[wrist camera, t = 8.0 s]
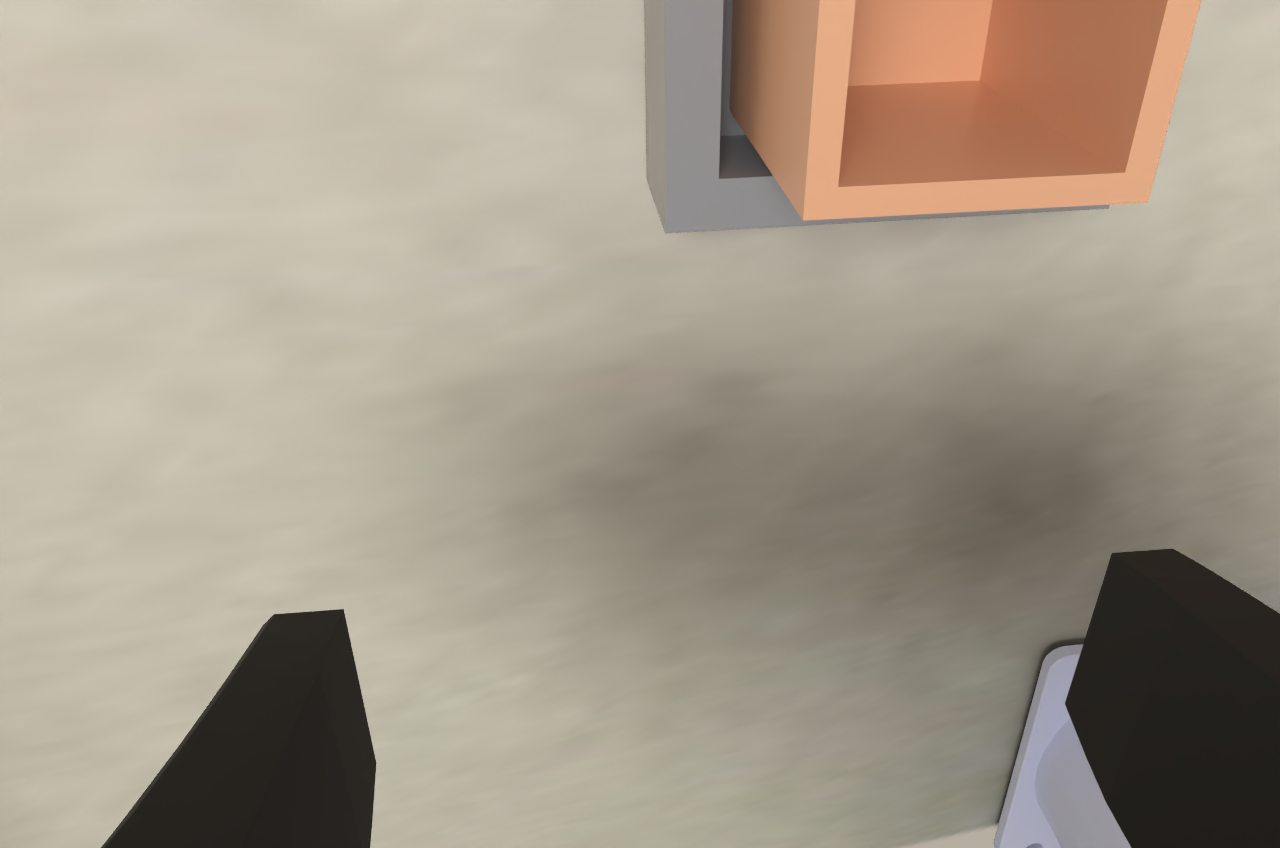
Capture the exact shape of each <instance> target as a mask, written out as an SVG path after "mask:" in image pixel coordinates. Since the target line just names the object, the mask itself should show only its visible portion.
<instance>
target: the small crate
mask: <svg viewBox="0 0 1280 848" xmlns="http://www.w3.org/2000/svg"><path fill="white" fill-rule="evenodd" d="M1200 4H1201V0H733V3H732V33H731V63H730V93H729V110H730V112H731V113H732V115H733V116H734V118H735V119H736V121H737V122H738V124H739V125H740V127H741V128H742V130H743V131H744V133H745V134H746V136H747V137H748V139H749V140H750V142H751V143H752V145H753V146H754V148H755V149H756V151H757V152H758V154H759V155H760V157H761V158H762V160H763V161H764V163H765V164H766V166H767V167H768V169H769V170H770V172H771V173H772V175H773V176H774V178H775V179H776V181H777V182H778V184H779V185H780V187H781V188H782V190H783V191H784V193H785V194H786V196H787V197H788V199H789V200H790V202H791V203H792V205H793V206H794V208H795V209H796V211H797V212H798V214H799V215H800V217H801V218H802V220H803V221H805V220H824V219H843V218H862V217H881V216H900V215H919V214H938V213H957V212H976V211H995V210H1014V209H1033V208H1052V207H1071V206H1090V205H1109V204H1128V203H1147V202H1148V200H1149V196H1150V193H1151V189H1152V185H1153V181H1154V177H1155V174H1156V170H1157V166H1158V162H1159V159H1160V155H1161V151H1162V147H1163V143H1164V140H1165V136H1166V132H1167V128H1168V125H1169V121H1170V117H1171V113H1172V109H1173V106H1174V102H1175V98H1176V94H1177V91H1178V87H1179V83H1180V79H1181V75H1182V72H1183V68H1184V64H1185V60H1186V57H1187V53H1188V49H1189V45H1190V42H1191V38H1192V34H1193V30H1194V26H1195V23H1196V19H1197V15H1198V11H1199V8H1200Z"/></svg>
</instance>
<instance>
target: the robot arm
mask: <svg viewBox="0 0 1280 848" xmlns="http://www.w3.org/2000/svg"><path fill="white" fill-rule="evenodd" d="M375 773H376V760H375V755H374V751H373V746H372V741H371V736H370V732H369V727H368V722H367V718H366V713H365V708H364V703H363V699H362V694H361V689H360V685H359V680H358V675H357V671H356V666H355V661H354V656H353V652H352V647H351V642H350V638H349V633H348V628H347V624H346V619H345V614H344V609H341V610H328V611H314V612H300V613H287V614H274V615H273V616H272V617H271V618H270V619H269V620H268V621H267V622H266V623H265V624H264V625H263V626H262V628H261V629H260V631H259V632H258V634H257V635H256V637H255V638H254V640H253V641H252V643H251V644H250V646H249V647H248V648H247V650H246V651H245V653H244V654H243V656H242V657H241V659H240V660H239V662H238V663H237V665H236V666H235V667H234V669H233V670H232V672H231V673H230V675H229V676H228V678H227V679H226V681H225V682H224V683H223V685H222V686H221V688H220V689H219V691H218V692H217V693H216V695H215V696H214V698H213V699H212V701H211V702H210V703H209V705H208V706H207V708H206V709H205V710H204V712H203V713H202V715H201V716H200V717H199V719H198V720H197V722H196V723H195V724H194V726H193V727H192V729H191V730H190V731H189V733H188V734H187V736H186V737H185V738H184V740H183V741H182V743H181V744H180V745H179V747H178V748H177V749H176V751H175V752H174V753H173V755H172V756H171V757H170V759H169V760H168V761H167V763H166V764H165V765H164V766H163V768H162V769H161V770H160V772H159V773H158V774H157V776H156V777H155V778H154V780H153V781H152V782H151V784H150V785H149V786H148V788H147V789H146V790H145V792H144V793H143V794H142V796H141V797H140V798H139V800H138V801H137V802H136V804H135V805H134V806H133V808H132V809H131V810H130V811H129V813H128V814H127V815H126V817H125V818H124V819H123V821H122V822H121V823H120V825H119V826H118V827H117V828H116V830H115V831H114V832H113V833H112V835H111V836H110V837H109V838H108V840H107V841H106V842H105V844H104V845H103V846H102V847H101V848H370V841H371V829H372V816H373V801H374V787H375ZM994 847H995V848H1280V614H1279V613H1277V612H1276V611H1274V610H1273V609H1271V608H1270V607H1268V606H1267V605H1265V604H1263V603H1262V602H1260V601H1259V600H1257V599H1255V598H1254V597H1252V596H1251V595H1249V594H1248V593H1246V592H1244V591H1243V590H1241V589H1240V588H1238V587H1236V586H1235V585H1233V584H1232V583H1230V582H1228V581H1227V580H1225V579H1224V578H1222V577H1220V576H1219V575H1217V574H1216V573H1214V572H1212V571H1211V570H1209V569H1207V568H1206V567H1204V566H1202V565H1201V564H1199V563H1197V562H1195V561H1194V560H1192V559H1190V558H1188V557H1187V556H1185V555H1183V554H1181V553H1180V552H1178V551H1176V550H1174V549H1163V550H1149V551H1135V552H1122V553H1112V555H1111V558H1110V561H1109V565H1108V568H1107V571H1106V574H1105V577H1104V580H1103V584H1102V587H1101V590H1100V593H1099V596H1098V599H1097V603H1096V606H1095V609H1094V612H1093V615H1092V619H1091V622H1090V625H1089V628H1088V631H1087V634H1086V638H1085V641H1084V644H1080V645H1069V646H1063V647H1058V648H1056V649H1054V650H1053V651H1051V652H1050V653H1049V654H1048V655H1047V656H1046V657H1045V659H1044V661H1043V663H1042V667H1041V671H1040V674H1039V678H1038V682H1037V685H1036V689H1035V693H1034V696H1033V700H1032V704H1031V707H1030V711H1029V715H1028V718H1027V722H1026V726H1025V729H1024V733H1023V737H1022V740H1021V744H1020V748H1019V751H1018V755H1017V759H1016V762H1015V766H1014V770H1013V773H1012V777H1011V781H1010V784H1009V788H1008V792H1007V795H1006V799H1005V803H1004V806H1003V810H1002V814H1001V817H1000V821H999V825H998V828H997V832H996V836H995V839H994Z"/></svg>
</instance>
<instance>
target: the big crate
mask: <svg viewBox="0 0 1280 848" xmlns="http://www.w3.org/2000/svg"><path fill="white" fill-rule="evenodd" d="M732 3H733V0H644V8H645V82H646V156H647V181H648V184H649V187H650V190H651V193H652V196H653V199H654V202H655V205H656V207H657V210H658V213H659V216H660V219H661V222H662V225H663V228H664V231H665V233H680V232H698V231H716V230H733V229H751V228H769V227H787V226H805V225H822V224H840V223H858V222H876V221H893V220H911V219H929V218H947V217H965V216H982V215H1000V214H1018V213H1036V212H1054V211H1071V210H1089V209H1107V208H1109V205H1110V204H1109V205H1090V206H1071V207H1052V208H1033V209H1014V210H995V211H976V212H957V213H938V214H919V215H900V216H881V217H862V218H843V219H824V220H805V221H803V220H802V218H801V217H800V215H799V214H798V212H797V211H796V209H795V208H794V206H793V205H792V203H791V202H790V200H789V199H788V197H787V196H786V194H785V193H784V191H783V190H782V188H781V187H780V185H779V184H778V182H777V181H776V179H775V178H774V176H773V175H772V173H771V172H770V170H769V169H768V167H767V166H766V164H765V163H764V161H763V160H762V158H761V157H760V155H759V154H758V152H757V151H756V149H755V148H754V146H753V145H752V143H751V142H750V140H749V139H748V137H747V136H746V134H745V133H744V131H743V130H742V128H741V127H740V125H739V124H738V122H737V121H736V119H735V118H734V116H733V115H732V113H731V112H730V110H729V93H730V63H731V33H732Z"/></svg>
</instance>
